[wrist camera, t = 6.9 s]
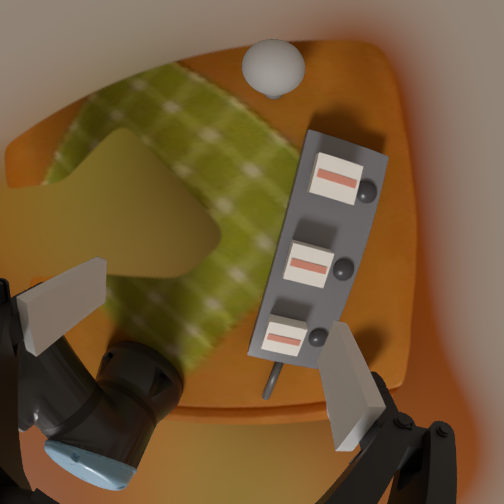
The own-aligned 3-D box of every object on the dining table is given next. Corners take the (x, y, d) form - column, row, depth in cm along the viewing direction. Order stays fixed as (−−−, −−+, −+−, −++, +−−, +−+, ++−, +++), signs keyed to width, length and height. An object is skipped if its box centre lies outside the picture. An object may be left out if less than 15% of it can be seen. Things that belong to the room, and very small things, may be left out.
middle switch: (282, 272, 31) (283, 278, 29) (291, 239, 30) (293, 243, 28) (320, 282, 31) (323, 288, 29) (330, 249, 30) (334, 254, 28)
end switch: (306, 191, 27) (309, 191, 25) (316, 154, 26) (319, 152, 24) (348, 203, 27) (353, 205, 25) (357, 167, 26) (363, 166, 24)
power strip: (235, 389, 40) (232, 403, 37) (305, 134, 30) (308, 128, 27) (294, 401, 40) (295, 415, 37) (379, 158, 30) (389, 156, 27)
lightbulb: (274, 123, 30) (275, 95, 20) (238, 93, 30) (224, 55, 19) (308, 93, 29) (322, 55, 18) (272, 63, 28) (271, 18, 18)
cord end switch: (261, 340, 34) (261, 349, 32) (269, 313, 33) (269, 321, 31) (296, 347, 34) (297, 356, 32) (305, 321, 33) (307, 330, 31)
